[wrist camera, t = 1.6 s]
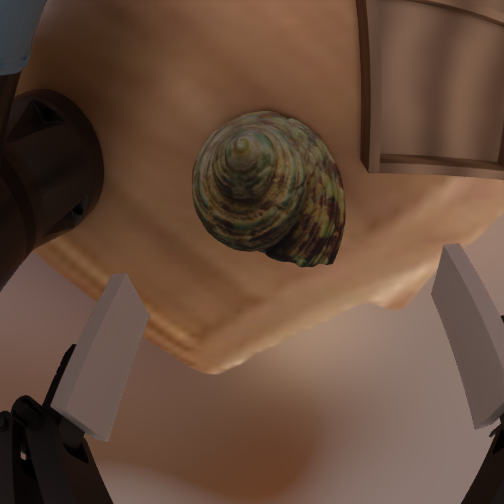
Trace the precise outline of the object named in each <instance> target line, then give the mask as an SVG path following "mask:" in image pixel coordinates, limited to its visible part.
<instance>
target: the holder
mask: <svg viewBox="0 0 504 504" xmlns="http://www.w3.org/2000/svg"><path fill="white" fill-rule="evenodd" d="M356 4H357V14H358V27H359V42H360V61H361V161H362V163H363V164H364V166H365V168H366V170H367V171H368V173H400V174H428V175H447V176H463V177H476V178H488V179H499V180H504V0H356Z"/></svg>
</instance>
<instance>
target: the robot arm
mask: <svg viewBox="0 0 504 504" xmlns="http://www.w3.org/2000/svg"><path fill="white" fill-rule="evenodd" d="M46 2H47V0H0V291H1V290H2V289H3V287H4V286H5V285H6V283H7V282H8V280H9V279H10V278H11V277H12V275H13V274H14V272H15V271H16V270H17V269H18V268H19V266H20V265H21V264H22V262H23V261H24V260H25V259H26V257H27V256H28V255H29V254H30V253H31V252H32V251H33V250H34V249H35V248H37V247H39V246H41V245H43V244H45V243H47V242H49V241H51V240H53V239H55V238H57V237H59V236H61V235H63V234H65V233H67V232H69V231H71V230H72V229H74V228H75V227H76V226H78V225H79V224H80V223H81V222H82V221H83V219H84V218H85V217H86V216H87V215H88V214H89V213H90V212H91V210H92V209H93V208H94V206H95V205H96V203H97V201H98V199H99V196H100V193H101V189H102V184H103V160H102V154H101V149H100V146H99V142H98V140H97V137H96V135H95V132H94V130H93V128H92V126H91V124H90V123H89V121H88V119H87V118H86V117H85V115H84V114H83V113H82V111H81V110H80V109H79V108H78V107H77V106H76V105H75V104H74V103H73V102H72V101H70V100H69V99H68V98H66V97H65V96H63V95H61V94H59V93H57V92H54V91H50V90H44V89H38V90H32V91H28V92H26V93H23V94H21V95H18V96H16V97H14V96H15V92H16V88H17V85H18V81H19V78H20V75H21V71H22V69H23V68H25V67H26V66H27V64H28V63H29V60H30V57H31V42H32V39H33V36H34V33H35V30H36V27H37V25H38V22H39V19H40V17H41V14H42V12H43V9H44V7H45V4H46ZM431 295H432V298H433V300H434V303H435V305H436V308H437V310H438V312H439V315H440V318H441V320H442V323H443V325H444V328H445V331H446V334H447V337H448V339H449V342H450V345H451V347H452V351H453V354H454V357H455V360H456V363H457V366H458V369H459V372H460V376H461V379H462V382H463V386H464V389H465V393H466V396H467V400H468V404H469V407H470V411H471V415H472V420H473V424H474V428H475V430H476V429H479V428H483V427H485V426H488V425H491V424H493V423H494V422H495V421H496V420H497V419H498V418H499V417H500V421H501V424H500V425H499V426H498V427H497V428H495V429H494V430H493V431H492V432H491V434H490V435H489V437H492V436H493V435H494V434H495V437H494V439H493V442H492V444H491V446H490V448H489V451H488V453H487V455H486V457H485V459H484V462H483V464H482V466H481V468H480V470H479V472H478V474H477V476H476V478H475V479H474V481H473V483H472V485H471V487H470V489H469V490H468V492H467V494H466V496H465V498H464V499H463V501H462V503H461V504H504V315H503V316H500V315H499V313H498V311H497V309H496V307H495V305H494V303H493V301H492V299H491V297H490V295H489V293H488V291H487V290H486V288H485V286H484V284H483V282H482V281H481V279H480V277H479V275H478V274H477V272H476V270H475V268H474V267H473V265H472V263H471V262H470V260H469V258H468V257H467V255H466V253H465V252H464V250H463V249H462V247H461V245H460V244H459V243H457V244H447V245H443V249H442V254H441V258H440V262H439V266H438V270H437V274H436V278H435V282H434V285H433V289H432V293H431ZM149 317H150V315H149V313H148V311H147V310H146V308H145V306H144V304H143V302H142V301H141V299H140V297H139V295H138V293H137V292H136V290H135V288H134V286H133V284H132V282H131V280H130V279H129V277H128V275H127V273H121V274H112V276H111V278H110V280H109V282H108V284H107V285H106V287H105V289H104V291H103V293H102V295H101V297H100V299H99V300H98V302H97V304H96V306H95V308H94V310H93V312H92V314H91V316H90V318H89V320H88V322H87V324H86V326H85V328H84V330H83V333H82V334H81V336H80V339H79V341H78V343H77V344H73V345H72V346H71V347H70V348H69V349H68V350H67V352H66V353H65V355H64V356H63V359H62V361H61V363H60V366H59V367H58V370H57V372H56V373H57V374H56V375H55V376H54V379H53V381H52V383H51V386H50V388H49V391H48V393H47V395H46V398H45V400H44V403H43V404H42V406H41V405H40V404H38V403H37V402H36V401H34V399H32V398H31V397H30V396H27V395H24V396H21V397H19V398H18V399H17V400H16V401H15V403H14V404H13V406H12V409H11V413H10V412H8V411H2V412H0V504H113V502H112V500H111V498H110V496H109V493H108V491H107V489H106V487H105V485H104V482H103V480H102V478H101V475H100V473H99V471H98V468H97V466H96V464H95V461H94V459H93V456H92V454H91V451H90V448H89V446H88V443H87V441H86V440H85V438H84V433H87V434H88V435H89V436H91V437H92V438H95V439H99V440H102V441H106V442H108V441H109V437H110V434H111V431H112V427H113V424H114V421H115V417H116V414H117V411H118V407H119V404H120V401H121V398H122V395H123V391H124V388H125V385H126V382H127V379H128V376H129V373H130V370H131V367H132V364H133V361H134V359H135V355H136V353H137V350H138V347H139V344H140V341H141V339H142V336H143V333H144V330H145V328H146V325H147V322H148V319H149ZM21 452H22V453H24V454H26V459H25V460H23V459H22V458H21Z"/></svg>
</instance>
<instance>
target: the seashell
mask: <svg viewBox="0 0 504 504" xmlns="http://www.w3.org/2000/svg"><path fill="white" fill-rule="evenodd" d="M192 192H193V200H194V206H195V209H196V212H197V215H198V216H199V218H200V220H201V222H202V223H203V225H204V226H205V228H206V230H207V231H208V232H209V233H210V234H211V235H212V236H213V237H214V238H215V239H217V240H218V241H220V242H222V243H223V244H225V245H226V246H228V247H230V248H232V249H235V250H240V251H249V252H251V251H260V252H263V253H265V254H266V255H267V256H268V257H270V258H272V259H275V260H278V261H281V262H292V263H295V264H296V265H297V266H299V267H314V266H316V265H317V264H325V265H328V264H333V262H334V260H335V258H336V255H337V252H338V250H339V247H340V244H341V240H342V236H343V231H344V225H345V200H344V191H343V185H342V180H341V176H340V173H339V170H338V168H337V165H336V163H335V160H334V159H333V157H332V156H331V154H330V152H329V151H328V149H327V147H326V146H325V144H324V142H323V140H322V139H321V137H320V136H319V135H318V134H317V133H315V132H314V131H313V130H311V129H310V128H308V127H306V126H305V125H303V124H302V123H301V122H299V121H298V120H295V119H292V118H290V119H288V120H287V119H286V118H285V117H283V116H281V115H280V114H279V113H278V112H275V111H259V112H252V113H247V114H244V115H242V116H239V117H236V118H234V119H232V120H230V121H227V122H226V123H224V124H223V125H221V126H220V127H219V128H218V129H216V130H215V131H214V132H213V133H212V134H211V136H210V137H209V138H208V139H207V141H206V142H205V143H204V145H203V146H202V148H201V150H200V152H199V155H198V157H197V159H196V162H195V164H194V168H193V175H192Z"/></svg>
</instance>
